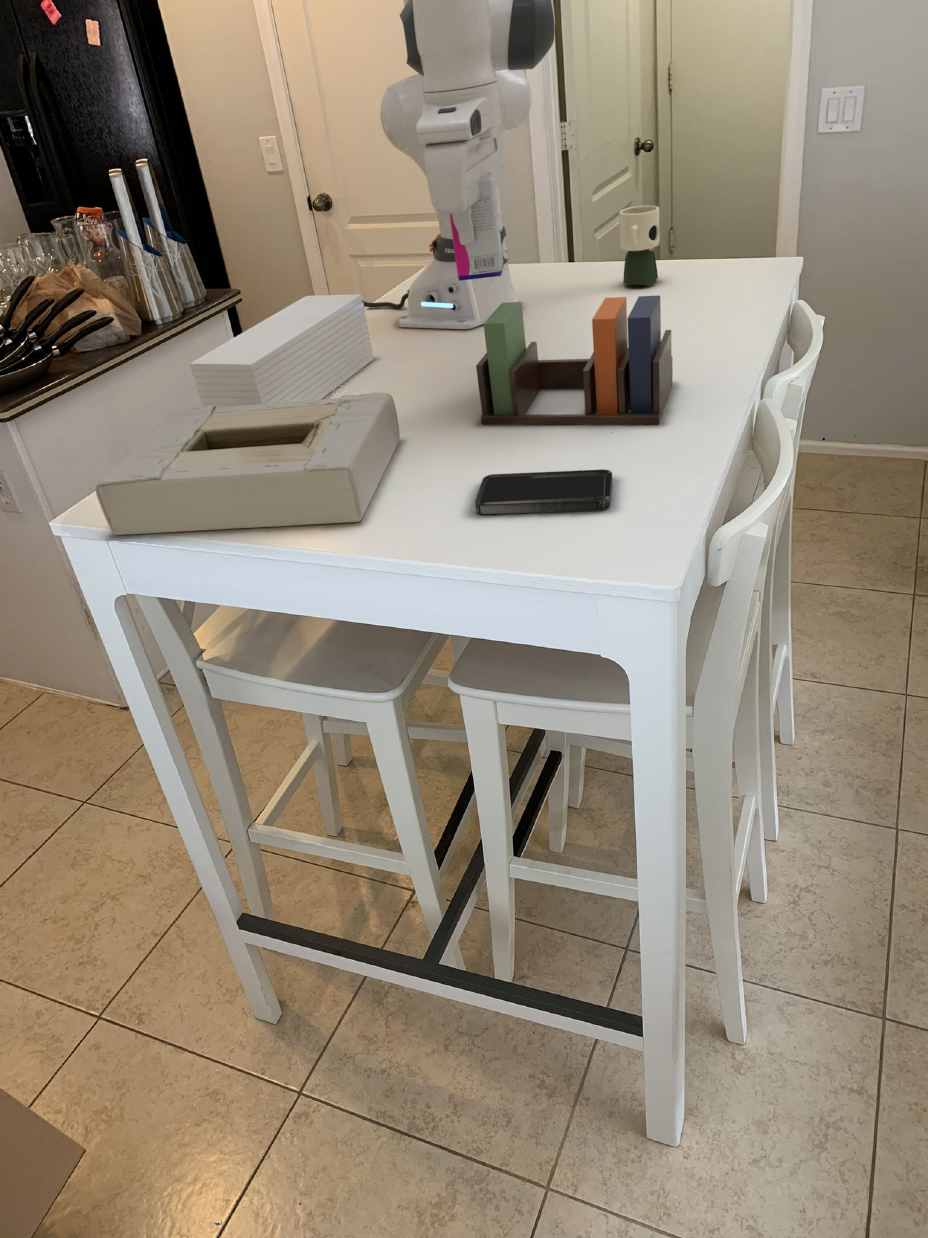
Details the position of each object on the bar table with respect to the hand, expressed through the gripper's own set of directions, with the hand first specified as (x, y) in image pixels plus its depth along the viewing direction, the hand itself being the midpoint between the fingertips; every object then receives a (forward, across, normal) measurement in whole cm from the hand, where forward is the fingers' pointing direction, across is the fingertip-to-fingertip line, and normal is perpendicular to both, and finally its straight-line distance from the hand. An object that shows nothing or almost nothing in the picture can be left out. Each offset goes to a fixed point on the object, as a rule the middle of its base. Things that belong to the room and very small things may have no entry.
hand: (476, 235), depth 116 cm
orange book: (+22, +1, +17) cm, 28 cm away
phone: (+22, +28, +14) cm, 38 cm away
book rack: (+22, +1, +12) cm, 26 cm away
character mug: (+23, -57, +12) cm, 63 cm away
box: (+23, +27, -23) cm, 42 cm away
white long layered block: (+23, -4, -34) cm, 41 cm away
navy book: (+22, +1, +21) cm, 31 cm away
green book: (+23, +1, +3) cm, 23 cm away
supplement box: (+5, 0, 0) cm, 5 cm away
